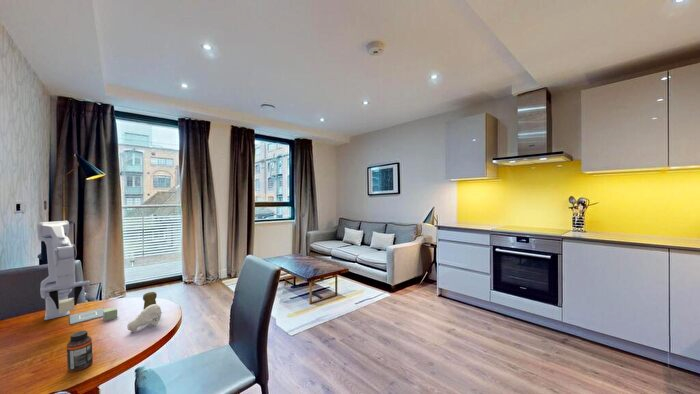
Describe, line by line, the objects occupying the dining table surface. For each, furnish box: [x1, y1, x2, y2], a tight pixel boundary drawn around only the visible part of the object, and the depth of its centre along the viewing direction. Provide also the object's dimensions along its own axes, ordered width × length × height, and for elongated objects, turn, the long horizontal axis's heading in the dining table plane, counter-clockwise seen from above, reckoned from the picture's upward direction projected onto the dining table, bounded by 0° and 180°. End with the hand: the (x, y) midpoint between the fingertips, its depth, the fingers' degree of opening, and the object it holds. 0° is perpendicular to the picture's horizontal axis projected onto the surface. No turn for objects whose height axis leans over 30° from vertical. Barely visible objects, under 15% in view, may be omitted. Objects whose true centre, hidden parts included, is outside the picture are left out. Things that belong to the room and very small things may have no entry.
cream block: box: [59, 297, 75, 313], centre depth 118 cm, size 4×4×4 cm
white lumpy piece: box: [127, 303, 163, 333], centre depth 118 cm, size 6×8×12 cm
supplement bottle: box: [66, 329, 93, 373], centre depth 92 cm, size 6×6×11 cm
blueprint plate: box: [69, 307, 105, 326], centre depth 130 cm, size 12×12×1 cm
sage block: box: [102, 306, 118, 322], centre depth 127 cm, size 4×4×4 cm
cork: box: [142, 291, 157, 311], centre depth 128 cm, size 6×6×11 cm
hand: (66, 306), depth 118 cm, fingers closed on cream block, 4 cm apart
